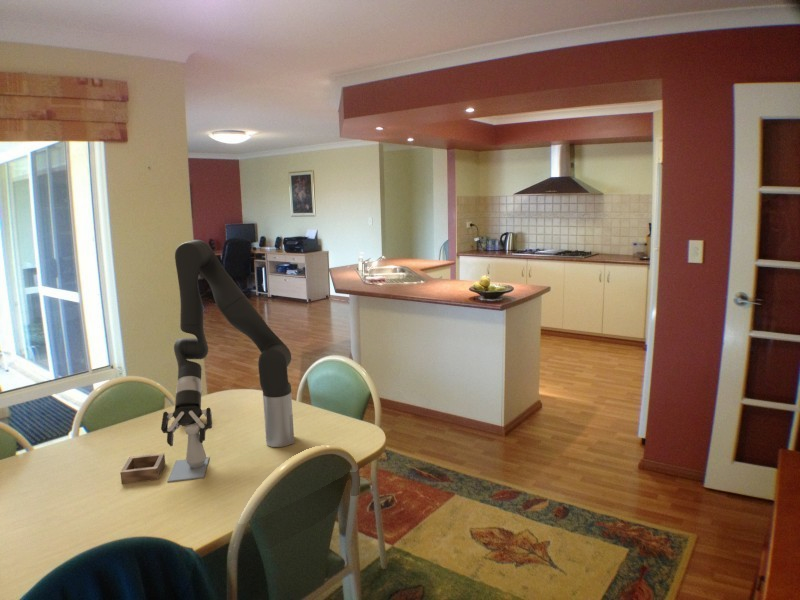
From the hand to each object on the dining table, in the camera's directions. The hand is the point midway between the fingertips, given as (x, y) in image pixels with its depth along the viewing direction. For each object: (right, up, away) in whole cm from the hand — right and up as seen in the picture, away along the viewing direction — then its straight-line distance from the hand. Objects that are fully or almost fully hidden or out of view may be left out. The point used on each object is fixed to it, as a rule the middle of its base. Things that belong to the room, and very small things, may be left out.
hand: (186, 443), depth 163 cm
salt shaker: (+2, -8, +5) cm, 9 cm away
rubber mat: (0, -9, +3) cm, 9 cm away
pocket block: (-13, -9, +1) cm, 16 cm away
